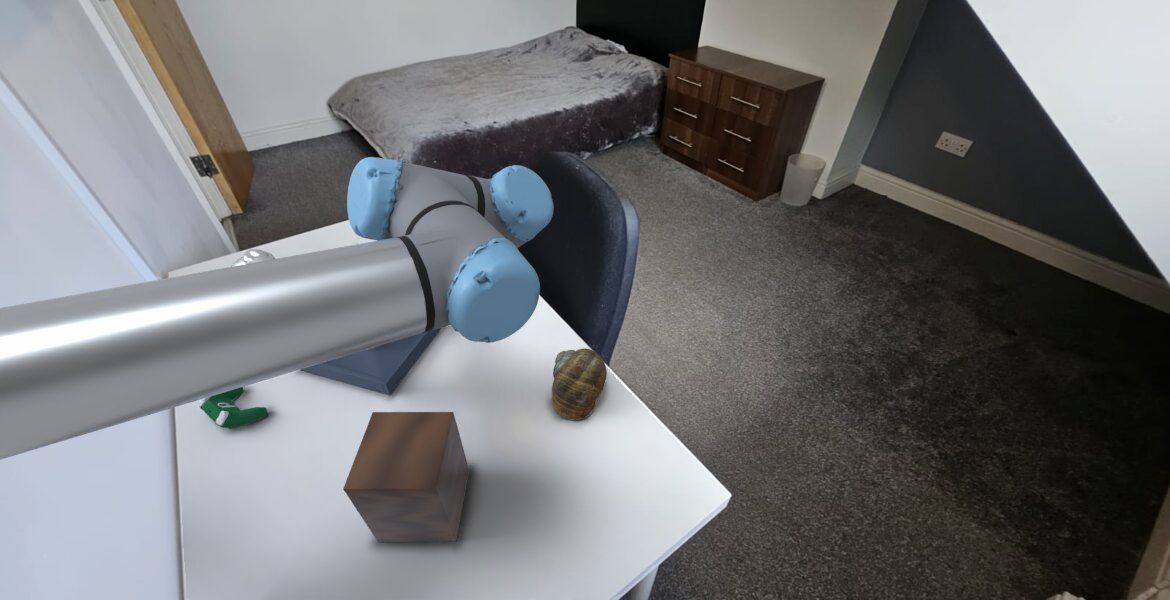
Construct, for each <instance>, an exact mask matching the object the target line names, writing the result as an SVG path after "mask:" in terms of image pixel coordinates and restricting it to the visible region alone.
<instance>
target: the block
mask: <svg viewBox="0 0 1170 600" xmlns="http://www.w3.org/2000/svg"><path fill="white" fill-rule="evenodd" d="M467 459H468V458H467V456H466V452H465V450H464V445H463V442H462V438H461V434H460V430H459V427H458V424H457V420H456V417H455V411H373V412H372V413H371V416H370V418H369V421H368V423H367V426H366V429H365V431H364V433H363V436H362V439H361V442H360V443H359V447H358V450H357V451H356V455H355V457H354V459H353V462H352V465H351V467H350V470H349V472H348V476H347V478H346V481H345V483H344V485H343V488H342V489H343V491H344V492H345V494H346V495H347V497H348V499H349V500H350V503H352V505H353V506H354V508H355V510H356V511H357V512H358V515H360V517H361V518H362V520H363V522H364V523H365V525H366V527H367V528H368V530H369V531H370V532H371V534H372V535H373V537H374V538H375V540H376V542H377V543H418V542H419V543H420V542H421V543H422V542H424V543H425V542H426V543H427V542H430V543H432V542H457V539H458V534H459V530H460V529H459V528H460V522H461V517H462V511H463V507H464V502H465V497H466V490H467V484H468V478H469V473H470V467H469V464H468V460H467Z"/></svg>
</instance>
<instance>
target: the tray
mask: <svg viewBox="0 0 1170 600" xmlns="http://www.w3.org/2000/svg"><path fill="white" fill-rule="evenodd" d="M441 330H442V328H439V329H435V330H431V331H427V332H424V333H420V334H416V335H413V336H410V337H407V338H403V339H400V340H397V341H393V342H390V343H387V344H383V345H382V346H381V347H380V348H378V349H375V350H368V349H367V350H363V351H360V352H357V353H353V354H350V355H347V356H343V357H340V358H337V359H333V360H330V361H327V362H323V363H320V364H317V365H313V366H310V367H307V368H304V369H300V371H301V372H305V373H308V374H312V375H315V376H319V377H322V378H327V379H330V380H333V381H337V382H340V383H344V384H348V385H350V386H354V387H359V388H362V389H365V390H369V391H373V392H375V393H376V392H377V393H380V394H383V395H387V396H391V395H392V394H393V393H394V391H395V390H396V389H397V388H398V386H399V385H400V383H401V382H402V381H403V379H404V378H405V377H406V376H407V374H408V373H409V372H410V370H411V369H412V368H413V366H414V365H415V364H416V362H417V361H418V360H419V359H420V357H421V356H422V355H423V353H424V352H425V351H426V349H427V348H428V347H429V346H430V344H431V343H432V341H433V340H434V339H435V337H436V336H437V335H438V333H439V332H440V331H441Z"/></svg>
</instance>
